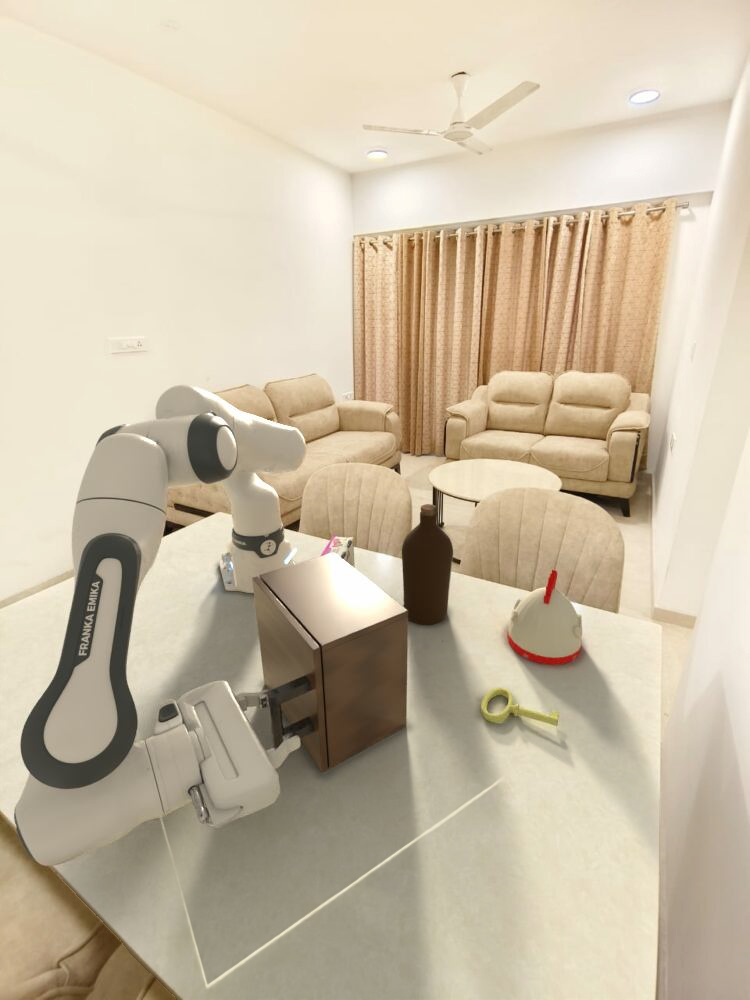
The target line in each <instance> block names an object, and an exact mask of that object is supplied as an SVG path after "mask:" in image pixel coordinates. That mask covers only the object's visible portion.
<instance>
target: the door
mask: <svg viewBox="0 0 750 1000" xmlns="http://www.w3.org/2000/svg"><path fill="white" fill-rule="evenodd" d="M252 582H253V591H254V593H253V598H254V606H255V608H254V609H255V615H256V623H257V631H258V641H259V649H260V657H261V658H260V659H261V666H262V667H261V668H262V674H263V683H264V685H265V687H266V689H268V690H269V692H268V694H267V696H268V704H269V706H268V713H269V721H270V729H271V730H270V731H271V738H272V746H273V748H274V749H275V750H276V749H277V748H278V747H279V746H280V745H281V744H282V742H283V735H285V734H287V733H290V732H291V731H295V732H296V733H297V735H298V736H299V738H300V742H301V743H302V744H303V746H304V747H305V749H306V751H307V752H308V753H309V755H310V757H311V758H312V760H313V761H314V762H315V764H316V766H317V767H318V769H319V771H320V772H321V773H324V772H326V771H328V770H329V767H328V764H327V748H326V733H325V717H324V701H323V686H322V670H321V654H320V647H319V646H318V645H317V643H316V642H315V641H314V640H313V639H312V638H311V637H310V635H309V634H308V633H307V632H306V631H305V630H304V629H303V627H302V626H301V625H300V624H299V623H298V622H297V621H296V619H295V618H294V617H293V616H292V615H291V614H290V613H289V611H288V610H287V609H286V608H285V607H284V606H283V605H282V603H281V602H280V601H279V600H278V599H277V598H276V597H275V595H274V594H273V593H272V592H271V591H270V590H269V589H268V587H267V586H266V585H265V584H264V583H263V582H262V581H261V579H260V578H259V577H258V576H257V577H253V578H252ZM283 714H284V715H283ZM283 716H284V717H285V718H286V720H287V721H288V722H289V725H288V726H285V727H284V720H283Z"/></svg>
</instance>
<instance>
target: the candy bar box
mask: <svg viewBox="0 0 750 1000" xmlns="http://www.w3.org/2000/svg"><path fill="white" fill-rule="evenodd" d="M333 552H334V553H335V554H337V555H338V556H339V557H340V558H342V559H343V560H344V561H346V562H347V563H348V564H349V565H351V566H352V567H353V568H354V569H356V568H355V547H354V537H353V536H351V537H350V536H339V535H333V536H331V538H330V540H329V542H328V543H327V545H326V546H325V548H324V550H323V551H322V553H321V554H320V556H323V555H327V554H330V553H333Z"/></svg>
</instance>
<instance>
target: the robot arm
mask: <svg viewBox="0 0 750 1000" xmlns="http://www.w3.org/2000/svg"><path fill="white" fill-rule="evenodd" d="M306 455H307V444H306V440H305V437H304V436H303V433H302V432H301V431H300V430H299V429H298V428H296V427H293V426H289V425H284V424H281V423H278V422H274V421H271V420H267V419H266V418H263V417H260V416H257V415H255V414H252V413H248V412H245V411H241V410H240V409H237V408H236V407H234V406H233V405H232V404H230V403H228V402H227V401H225V400H224V399H223V398H221V397H220V396H218V395H216V394H214V393H212V392H210V391H208V390H206V389H203V388H200V387H197V386H194V385H190V384H177V385H174V386H173V385H172V386H170V387H169V388H168V389H166V390H165V391H164V392H163V393H162V394H160V396H159V398H158V400H157V401H156V405H155V419H152V420H146V421H141V422H135V423H132V424H128V423H124V424H119V425H116V426H114V427H111V428H108V429H107V430H105V431H103V433H102V434H101V435H100V436H99V438H98V440H97V442H96V444H95V447H94V449H93V452H92V453H91V456H90V458H89V460H88V462H87V465H86V468H85V471H84V473H83V476H82V478H81V482H80V485H79V489H78V492H77V497H76V501H75V506H74V511H73V517H72V525H71V528H72V529H71V560H72V568H73V577H74V578H73V579H74V588H73V596H72V600H71V606H70V611H69V615H68V619H67V625H66V630H65V635H64V640H63V644H62V648H61V653H60V657H59V660H58V665H57V668H56V671H55V673H54V676H53V678H52V680H51V681H50V683H49V685H48V686H47V687H46V689H45V690H44V692H43V693H42V695H41V696H40V698H39V699H38V701H37V702H36V703H35V705H34V706H33V708H32V709H31V711H30V713H29V714H28V716H27V718H26V720H25V722H24V725H23V728H22V731H21V735H20V743H19V744H20V745H19V746H20V754H21V759H22V762H23V764H24V766H25V768H26V770H27V771H28V772H29V774H28V777H27V780H26V782H25V785H24V788H23V790H22V792H21V795H20V798H19V799H18V800H17V802H16V804H15V806H14V813H13V821H14V824H15V827H16V828H15V829H16V833H17V835H18V839H19V841H20V843H21V845H22V847H23V849H24V850H25V853H26V854H27V855H28V857H29V858H31V859H32V860H33V862H34V863H36V864H38V865H41V866H44V867H52V866H59V865H62V864H65V863H67V862H71V861H73V860H76V859H79V858H81V857H84V856H86V855H87V854H90V853H92V852H94V851H97V850H99V849H101V848H103V847H106V846H107V845H110V844H112V843H114V842H116V841H118V840H120V839H122V838H123V837H125V836H127V834H129V833H131V831H132V830H134V829H135V828H136V827H138V826H139V825H141V824H143V823H145V822H147V821H151V820H155V819H160V818H163V817H165V816H166V815H169V814H171V813H173V812H175V811H176V810H178V809H181V808H182V807H185V806H186V805H188V804H190V803H192V804H193V806H194V808H195V811H196V816H197V820H198V821H199V823H200V824H202V825H205V826H207V827H209V828H214V829H219V828H221V827H223V826H225V825H227V824H229V823H231V822H233V821H236V820H238V819H242V818H244V817H246V816H248V815H251V814H253V813H256V812H258V811H261V810H263V809H265V808H267V807H269V806H270V805H273V804H274V803H275V802H276V801H277V799H278V797H279V796H280V794H281V783H280V776H279V773H278V771H277V769H279V768H280V767H281V766H282V764H283V763H284V761H285V760H286V759H287V757H289V755H290V753H292V752H294V751H296V750H298V749H300V747H301V745H302V744H301V743H302V741H301V739H300V738H299V736H298V735H297V733H296V732H295V731H291V732H290V733H287V734H285V735H283V742H282V744H281V745H280V746H279V747H278V748H277V749H276V748H274V747H271V748H269V749H267V750H266V749H265V747H264V746H263V744H262V742H261V740H260V738H259V737H258V734H257V733H256V731H255V729H254V727H253V725H252V724H251V722H250V720H249V718H248V717H247V715H246V713H245V712H246V711H248V708H251V707H252V708H253V707H260V709H261V710H263V709H265V708H267V707H269V704H268V696H267V694H268V692H269V690H268V688H266V689H264V690H260V691H259V692H241V693H238V694H236V695H235V693H234V691H233V689H232V687H231V686H230V683H229V682H228V681H226V680H215V681H212V682H208V683H206V684H204V685H203V684H202V685H200V686H198V687H195V688H193V689H191V690H190V691H188V692H185V693H184V694H182V695H181V696H180V697H179V698H178V699H177V701H176V700H175V699H173V698H170V699H166V700H164V701H162V702H160V703H159V704H158V706H157V712H156V718H155V724H154V729H153V735H151V736H149V737H147V738H145V739H142V740H141V741H136V737H137V732H138V724H139V722H138V712H137V708H136V703H135V701H134V698H133V695H132V693H131V690H130V686H129V683H128V676H127V674H128V673H127V664H128V655H129V648H130V642H131V641H130V640H131V633H132V626H133V619H134V612H135V607H136V602H137V601H136V600H137V597H138V593H139V591H140V588H141V586H142V583H143V582H144V579H145V578H146V576H147V574H148V573H149V572H150V570H151V569H152V567H153V566H154V564H155V561H156V559H157V556H158V553H159V551H160V547H161V545H162V544H161V543H162V540H163V536H164V532H165V528H166V522H167V513H168V505H169V504H168V503H169V490H170V489H178V488H185V487H192V486H196V485H197V486H198V485H201V484H206V485H210V484H214V483H219V485H220V486H221V487H222V489H223V491H224V493H225V495H226V497H227V500H228V503H229V508H230V514H231V519H232V526H233V527H232V529H231V540H230V542H228V543H227V544H226V546H225V547H226V552H225V553H221V559H220V560H219V561H218V562H219V563H218V565H219V566H218V567H219V569H220V573H221V574H220V575H221V578H222V581H223V585H224V590H225V591H227V592H241V593H246V594H247V593H248V594H254V591H253V582H252V578H253V577H257V576H258V577H259V575H261V574H264V573H267V572H270V571H274V570H277V569H280V568H284V567H287V566H290V565H294V564H297V563H296V562H295V561H294V560H293V556H295V554H296V553H297V548H296V547H295V548H294V549H293V550H292V548H291V547H292V546H291V543H290V541H289V540H287V538H285V527H284V523H283V522H282V517H281V505H280V497H279V495H278V493H277V491H276V490H275V488H273V487H272V486H271V485H269V484H268V483H266V482H264V481H263V480H261V478H260V477H259V476H258V475H257V474H272V475H273V474H274V475H275V474H283V473H289V472H290V473H291V472H295V471H297V470H298V469H299V468H301V466H302V464H303V463H304V461H305V459H306ZM259 578H260V577H259ZM209 820H210V821H209Z"/></svg>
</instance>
